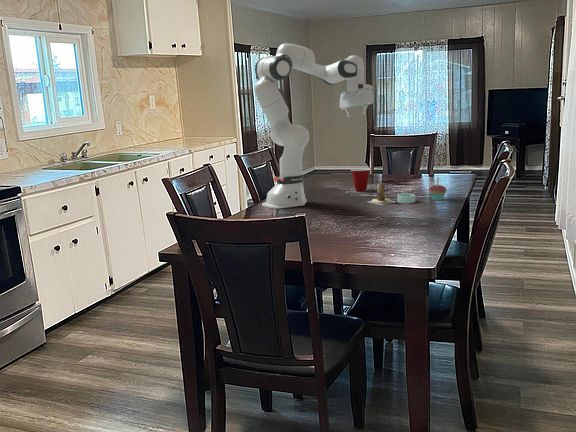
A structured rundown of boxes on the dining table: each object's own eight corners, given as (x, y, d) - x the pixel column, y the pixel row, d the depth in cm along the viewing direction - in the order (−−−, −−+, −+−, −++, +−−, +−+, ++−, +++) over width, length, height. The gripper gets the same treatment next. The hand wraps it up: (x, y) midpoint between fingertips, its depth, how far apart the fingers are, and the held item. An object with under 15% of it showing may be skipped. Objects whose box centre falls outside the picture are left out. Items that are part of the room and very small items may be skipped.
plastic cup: (370, 188, 314) (370, 166, 312) (371, 192, 304) (371, 169, 301) (350, 188, 315) (350, 167, 313) (350, 192, 305) (350, 170, 302)
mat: (380, 205, 270) (380, 204, 270) (366, 202, 278) (366, 201, 278) (395, 202, 276) (395, 201, 275) (381, 199, 284) (381, 198, 284)
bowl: (406, 204, 270) (406, 197, 269) (394, 202, 276) (394, 195, 276) (418, 202, 274) (418, 195, 273) (406, 199, 281) (406, 192, 280)
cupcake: (447, 201, 273) (447, 176, 271) (428, 201, 275) (429, 176, 272) (445, 197, 282) (446, 173, 279) (428, 197, 283) (428, 173, 281)
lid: (380, 204, 271) (380, 186, 269) (367, 201, 278) (367, 184, 276) (394, 201, 276) (394, 183, 274) (381, 199, 283) (381, 181, 281)
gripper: (336, 91, 296) (337, 118, 296) (367, 83, 281) (368, 111, 281) (344, 92, 300) (345, 119, 300) (375, 85, 285) (376, 113, 285)
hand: (356, 115), depth 290 cm, fingers open, 8 cm apart
